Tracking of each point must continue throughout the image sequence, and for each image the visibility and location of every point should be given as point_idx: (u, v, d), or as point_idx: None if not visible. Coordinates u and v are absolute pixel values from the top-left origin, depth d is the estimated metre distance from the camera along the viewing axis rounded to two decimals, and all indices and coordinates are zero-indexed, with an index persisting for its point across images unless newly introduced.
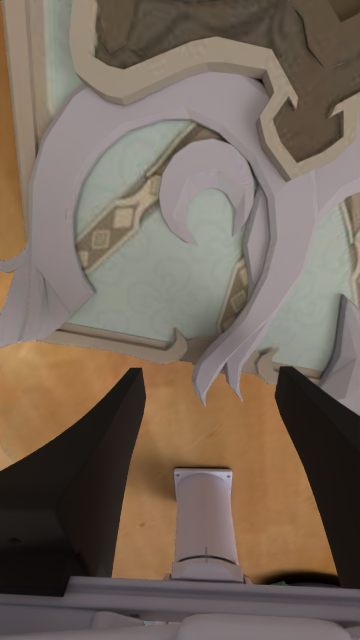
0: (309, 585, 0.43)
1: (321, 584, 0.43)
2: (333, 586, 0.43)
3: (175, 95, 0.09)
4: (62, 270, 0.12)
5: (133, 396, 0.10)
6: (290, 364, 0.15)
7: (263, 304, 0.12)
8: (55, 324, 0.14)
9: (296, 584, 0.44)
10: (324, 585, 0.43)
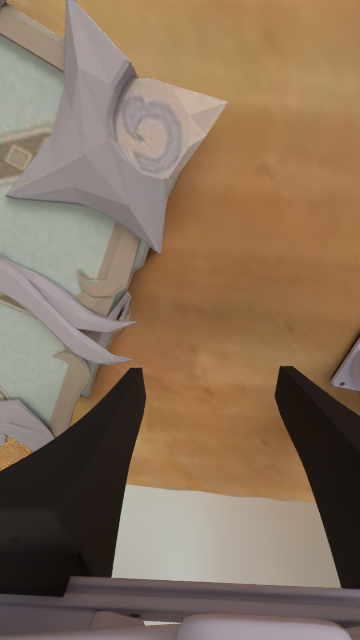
0: None
1: None
2: None
3: None
4: None
5: (133, 396, 0.10)
6: (103, 257, 0.13)
7: (8, 287, 0.13)
8: (46, 430, 0.19)
9: None
10: None
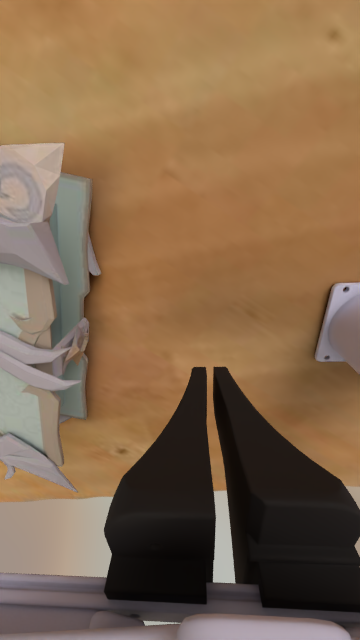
0: None
1: None
2: None
3: None
4: None
5: None
6: (27, 298, 0.14)
7: None
8: (42, 456, 0.21)
9: None
10: None
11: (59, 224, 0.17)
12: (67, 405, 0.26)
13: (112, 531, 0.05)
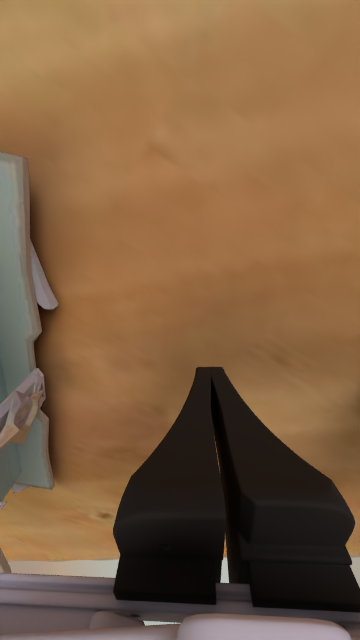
0: None
1: None
2: None
3: None
4: None
5: None
6: None
7: None
8: None
9: None
10: None
11: None
12: (26, 473, 0.19)
13: (121, 531, 0.05)
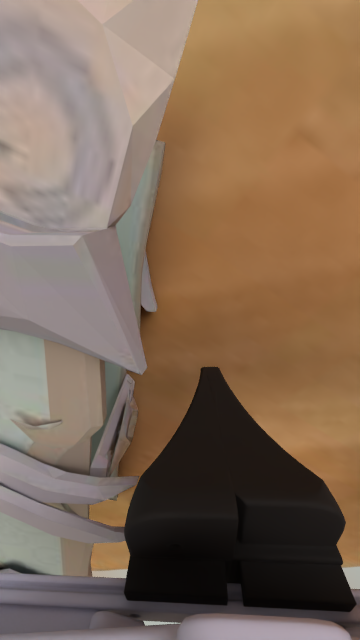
0: None
1: None
2: None
3: None
4: None
5: None
6: (47, 387, 0.07)
7: None
8: None
9: None
10: None
11: None
12: None
13: (132, 532, 0.05)
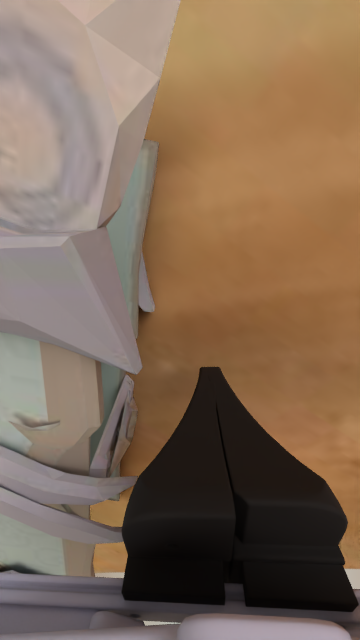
0: None
1: None
2: None
3: None
4: None
5: None
6: (44, 389, 0.07)
7: None
8: None
9: None
10: None
11: None
12: None
13: (130, 532, 0.05)
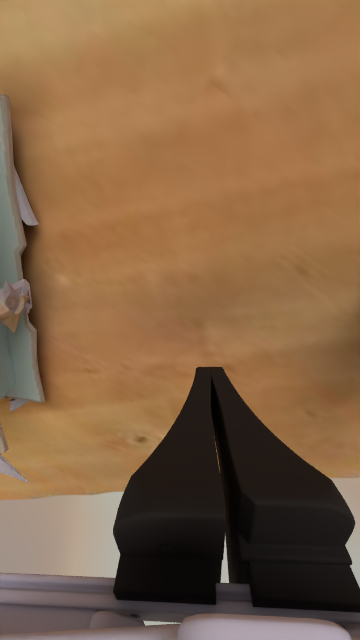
0: None
1: None
2: None
3: None
4: None
5: None
6: None
7: None
8: None
9: None
10: None
11: None
12: (20, 386, 0.23)
13: (121, 531, 0.05)
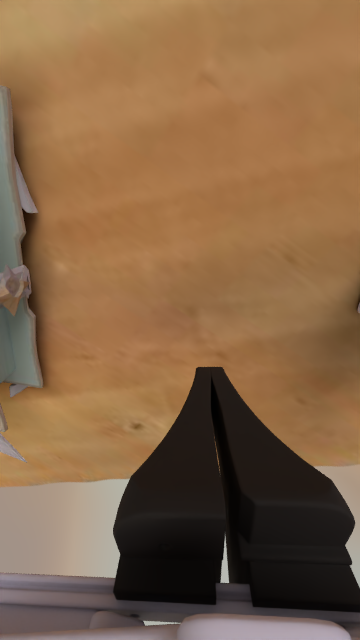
0: None
1: None
2: None
3: None
4: None
5: None
6: None
7: None
8: None
9: None
10: None
11: None
12: (19, 371, 0.24)
13: (121, 531, 0.05)
